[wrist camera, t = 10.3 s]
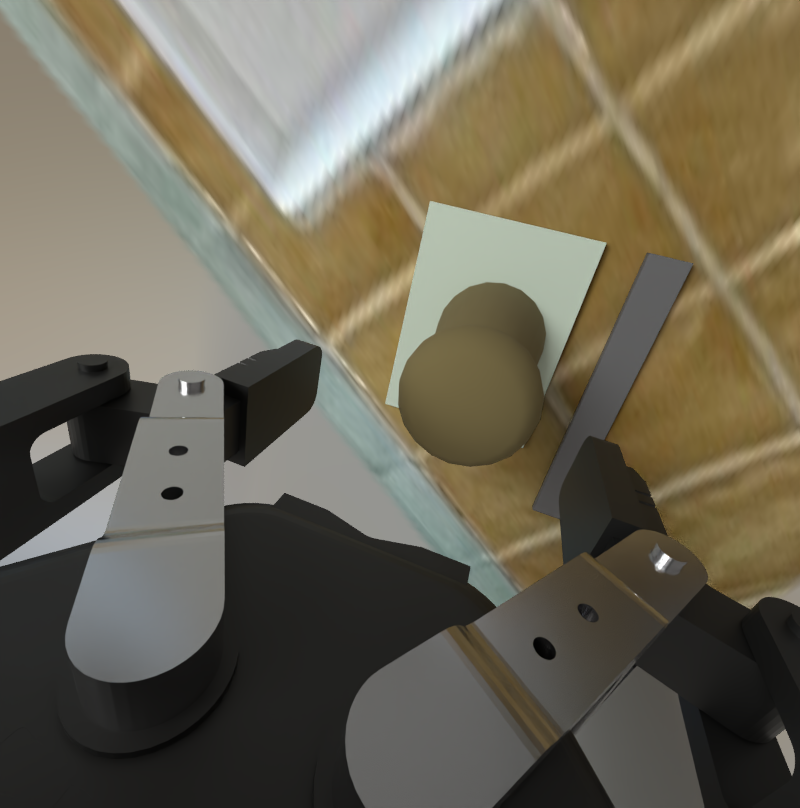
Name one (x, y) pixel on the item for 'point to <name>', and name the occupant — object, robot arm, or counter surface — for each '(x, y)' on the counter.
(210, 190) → the counter surface
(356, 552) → the robot arm
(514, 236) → the mat
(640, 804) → the lotion bottle
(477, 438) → the cork
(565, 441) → the charcoal line
